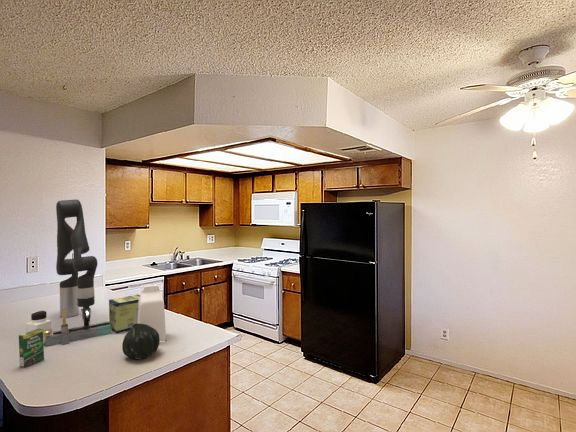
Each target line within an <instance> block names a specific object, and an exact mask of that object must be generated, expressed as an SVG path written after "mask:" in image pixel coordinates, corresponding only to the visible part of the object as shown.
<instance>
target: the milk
mask: <svg viewBox="0 0 576 432" xmlns="http://www.w3.org/2000/svg"><path fill="white" fill-rule="evenodd" d="M139 295H140V297H139V302H138V324H146V325H149V326H150V327H152V328H154V329H155V330H157V332H158V334H159V339H160V340H159V343H161V342H160V341H165V340H166V341H167V332H166V331H167V330H166V316H165V315H166V313H165V303H164V302H165V301H164V299H163V296H162V295H163V294H162V292H161V289H160V286H159V285H158V284H153V285H145V286H143V289H142V291H141V293H140V294H139ZM166 341H165V342H166Z"/></svg>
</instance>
